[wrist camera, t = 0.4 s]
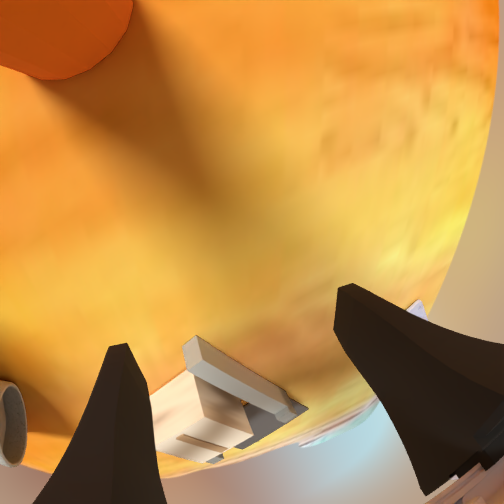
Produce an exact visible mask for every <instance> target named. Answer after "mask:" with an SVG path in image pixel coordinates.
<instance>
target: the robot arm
mask: <svg viewBox="0 0 504 504" xmlns="http://www.w3.org/2000/svg"><path fill="white" fill-rule="evenodd" d="M333 330H334V332H335V334H336V336H337V338H338V340H339V342H340V343H341V345H342V347H343V349H344V351H345V352H346V354H347V355H348V357H349V358H350V360H351V361H352V362H353V364H354V365H355V366H356V368H357V369H358V371H359V372H360V373H361V375H362V376H363V377H364V379H365V380H366V381H367V383H368V384H369V386H370V387H371V388H372V390H373V391H374V392H375V394H376V395H377V397H378V398H379V400H380V401H381V403H382V404H383V406H384V408H385V409H386V411H387V413H388V415H389V417H390V419H391V420H392V422H393V424H394V426H395V428H396V430H397V432H398V434H399V436H400V438H401V440H402V442H403V445H404V447H405V449H406V451H407V454H408V456H409V458H410V461H411V463H412V466H413V469H414V471H415V474H416V477H417V479H418V483H419V486H420V489H421V490H422V492H423V493H424V495H425V496H427V495H429V494H430V493H432V492H433V491H435V490H436V489H437V488H439V487H440V486H441V485H443V484H444V483H446V482H447V481H448V480H457V481H456V482H454V483H453V484H452V485H451V486H449V487H448V488H447V489H445V490H444V491H443V492H441V493H440V494H438V495H437V496H435V497H434V498H433V499H431V500H430V501H428V502H427V503H425V504H504V344H500V343H494V342H489V341H485V340H481V339H477V338H473V337H470V336H466V335H463V334H460V333H457V332H454V331H452V330H449V329H446V328H443V327H440V326H438V325H436V324H433V323H431V322H429V321H428V319H427V316H426V313H425V310H424V307H423V304H422V301H420V300H417V301H415V302H414V303H413V304H412V305H411V306H410V307H409V308H408V309H407V310H404V309H402V308H400V307H398V306H396V305H394V304H392V303H390V302H388V301H386V300H384V299H383V298H381V297H379V296H377V295H375V294H373V293H371V292H370V291H368V290H366V289H364V288H362V287H360V286H358V285H356V284H354V283H351V284H348V285H345V286H342V287H339V288H338V292H337V302H336V311H335V320H334V329H333ZM33 504H167V502H166V498H165V495H164V491H163V487H162V484H161V480H160V476H159V470H158V464H157V456H156V447H155V438H154V428H153V417H152V408H151V402H150V397H149V392H148V387H147V382H146V380H145V378H144V376H143V374H142V372H141V370H140V368H139V366H138V364H137V362H136V360H135V358H134V356H133V354H132V352H131V350H130V348H129V346H128V344H127V343H123V344H118V345H114V346H109V348H108V350H107V353H106V355H105V358H104V361H103V364H102V367H101V369H100V372H99V375H98V378H97V380H96V383H95V386H94V388H93V391H92V393H91V396H90V398H89V401H88V404H87V406H86V408H85V411H84V413H83V415H82V418H81V420H80V422H79V425H78V427H77V429H76V431H75V433H74V436H73V438H72V440H71V442H70V444H69V446H68V448H67V450H66V452H65V453H64V455H63V457H62V459H61V460H60V462H59V464H58V466H57V468H56V469H55V471H54V473H53V474H52V476H51V478H50V479H49V481H48V482H47V484H46V485H45V486H44V488H43V490H42V491H41V492H40V494H39V495H38V497H37V498H36V500H35V501H34V502H33Z"/></svg>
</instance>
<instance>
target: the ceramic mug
mask: <svg viewBox="0 0 504 504" xmlns="http://www.w3.org/2000/svg"><path fill="white" fill-rule="evenodd" d="M26 446H27V417H26V409H25V404H24V401H23V398H22V395H21V392H20V390H19V388H18V387H17V386H16V385H15V384H14V383H12V382H8V381H1V380H0V464H1V465H4V466H7V467H17V466H18V465H19V464H20V463H21V462H22V460H23V457H24V455H25V450H26Z"/></svg>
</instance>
